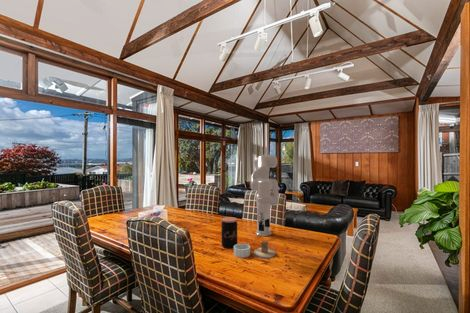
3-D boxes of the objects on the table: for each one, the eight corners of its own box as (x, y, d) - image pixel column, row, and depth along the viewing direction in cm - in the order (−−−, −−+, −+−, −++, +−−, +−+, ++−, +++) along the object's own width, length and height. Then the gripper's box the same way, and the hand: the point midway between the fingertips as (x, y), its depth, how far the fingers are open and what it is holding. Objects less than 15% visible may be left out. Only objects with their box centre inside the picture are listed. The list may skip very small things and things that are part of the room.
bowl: (238, 250, 145) (238, 242, 145) (252, 253, 140) (252, 245, 140) (230, 256, 136) (230, 247, 136) (245, 259, 132) (245, 251, 132)
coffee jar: (223, 249, 146) (223, 221, 147) (220, 243, 157) (219, 217, 157) (239, 247, 149) (239, 220, 149) (235, 242, 159) (234, 216, 160)
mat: (261, 248, 147) (261, 247, 147) (276, 251, 142) (276, 250, 142) (252, 257, 135) (252, 256, 135) (268, 260, 130) (268, 259, 130)
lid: (258, 247, 147) (258, 237, 148) (278, 251, 141) (278, 240, 141) (250, 255, 136) (250, 243, 136) (271, 259, 130) (271, 247, 130)
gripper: (263, 198, 148) (263, 224, 148) (252, 202, 133) (252, 231, 133) (274, 199, 145) (275, 226, 144) (264, 203, 130) (265, 233, 129)
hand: (264, 228), depth 138 cm, fingers open, 9 cm apart
